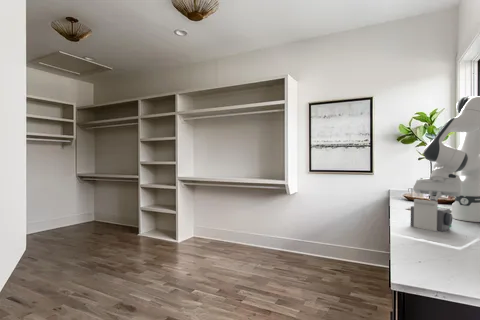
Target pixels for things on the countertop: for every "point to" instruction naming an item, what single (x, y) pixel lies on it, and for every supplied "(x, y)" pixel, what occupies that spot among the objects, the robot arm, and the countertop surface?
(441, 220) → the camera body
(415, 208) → the camera door
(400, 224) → the countertop surface
